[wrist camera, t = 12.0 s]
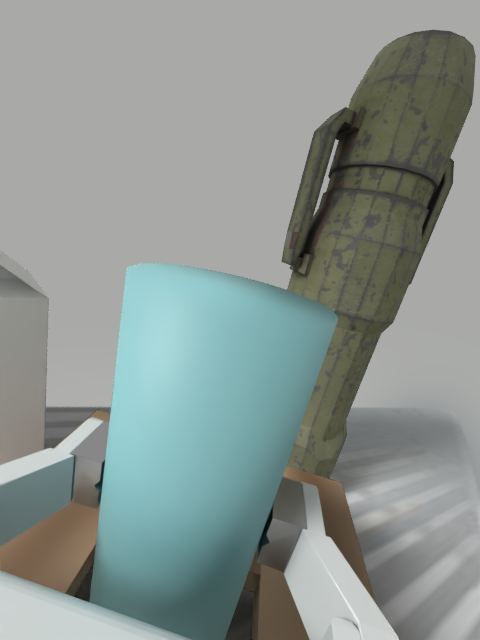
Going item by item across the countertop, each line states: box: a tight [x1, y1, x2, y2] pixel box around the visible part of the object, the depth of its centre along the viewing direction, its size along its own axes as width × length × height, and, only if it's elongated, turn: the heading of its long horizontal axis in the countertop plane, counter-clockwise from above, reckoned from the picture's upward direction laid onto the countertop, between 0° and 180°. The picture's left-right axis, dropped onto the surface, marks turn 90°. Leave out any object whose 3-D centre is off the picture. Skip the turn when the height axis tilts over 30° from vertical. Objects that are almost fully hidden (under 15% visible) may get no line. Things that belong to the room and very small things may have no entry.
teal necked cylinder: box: [89, 263, 338, 640], centre depth 9 cm, size 6×6×16 cm
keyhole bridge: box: [0, 410, 375, 640], centre depth 12 cm, size 18×15×7 cm
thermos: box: [282, 30, 475, 479], centre depth 22 cm, size 9×12×35 cm
